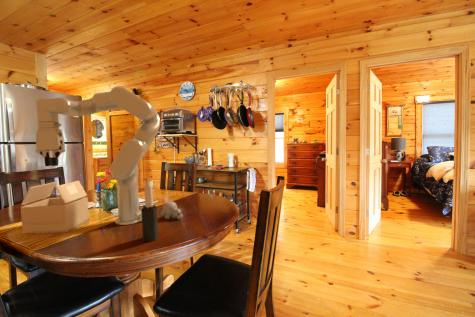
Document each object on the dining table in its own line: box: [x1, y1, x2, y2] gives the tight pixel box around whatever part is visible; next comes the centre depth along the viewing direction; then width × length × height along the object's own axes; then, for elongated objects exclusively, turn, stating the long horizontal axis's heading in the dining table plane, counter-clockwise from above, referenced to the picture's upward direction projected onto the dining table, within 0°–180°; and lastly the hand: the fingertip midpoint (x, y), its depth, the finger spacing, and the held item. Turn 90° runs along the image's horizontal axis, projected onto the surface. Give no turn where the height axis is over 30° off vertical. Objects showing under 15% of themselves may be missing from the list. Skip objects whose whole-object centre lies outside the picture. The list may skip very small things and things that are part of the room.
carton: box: [20, 196, 90, 234], centre depth 109 cm, size 19×17×12 cm
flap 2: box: [54, 180, 88, 204], centre depth 109 cm, size 8×16×1 cm
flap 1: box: [20, 181, 58, 206], centre depth 108 cm, size 8×16×1 cm
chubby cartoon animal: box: [160, 200, 184, 220], centre depth 118 cm, size 7×12×8 cm, turn 64°
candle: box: [140, 177, 159, 242], centre depth 93 cm, size 5×5×25 cm
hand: (51, 165), depth 108 cm, fingers closed
